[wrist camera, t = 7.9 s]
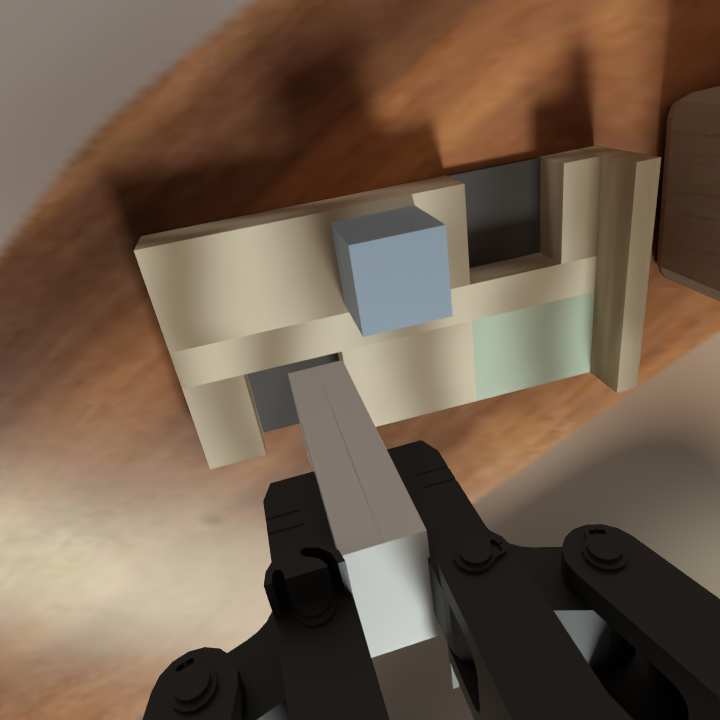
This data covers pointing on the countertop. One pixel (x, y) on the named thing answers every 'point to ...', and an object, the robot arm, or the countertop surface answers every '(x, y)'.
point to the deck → (422, 341)
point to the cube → (393, 269)
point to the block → (692, 194)
